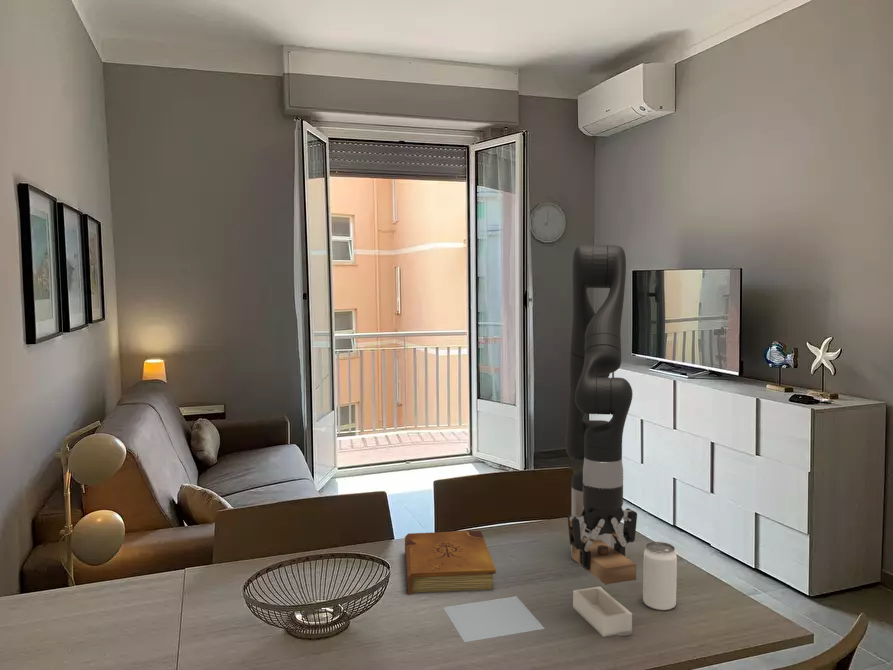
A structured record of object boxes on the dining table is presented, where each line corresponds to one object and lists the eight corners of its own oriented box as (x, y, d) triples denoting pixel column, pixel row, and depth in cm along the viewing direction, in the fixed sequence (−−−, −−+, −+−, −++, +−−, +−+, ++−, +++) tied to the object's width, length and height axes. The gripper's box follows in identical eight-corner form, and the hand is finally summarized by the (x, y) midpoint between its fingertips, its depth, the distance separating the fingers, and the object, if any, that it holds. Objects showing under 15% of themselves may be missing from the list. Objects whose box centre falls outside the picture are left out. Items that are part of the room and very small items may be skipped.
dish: (573, 609, 137) (573, 590, 136) (599, 605, 138) (599, 586, 138) (603, 639, 125) (603, 618, 125) (631, 634, 127) (632, 613, 127)
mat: (442, 609, 137) (442, 607, 137) (516, 598, 142) (516, 596, 142) (464, 644, 124) (464, 642, 124) (544, 631, 128) (544, 628, 128)
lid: (572, 557, 136) (572, 537, 136) (600, 554, 138) (600, 533, 138) (605, 584, 124) (605, 562, 123) (636, 579, 126) (636, 557, 125)
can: (677, 612, 135) (679, 554, 134) (644, 609, 136) (645, 551, 136) (673, 597, 142) (674, 541, 141) (641, 595, 143) (642, 539, 142)
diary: (405, 556, 166) (404, 533, 165) (480, 553, 167) (480, 530, 167) (408, 599, 143) (407, 572, 143) (495, 595, 145) (495, 568, 144)
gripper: (625, 472, 135) (624, 554, 137) (559, 479, 131) (559, 563, 132) (646, 482, 128) (645, 569, 129) (578, 489, 124) (577, 578, 125)
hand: (602, 565), depth 131 cm, fingers closed on lid, 6 cm apart
